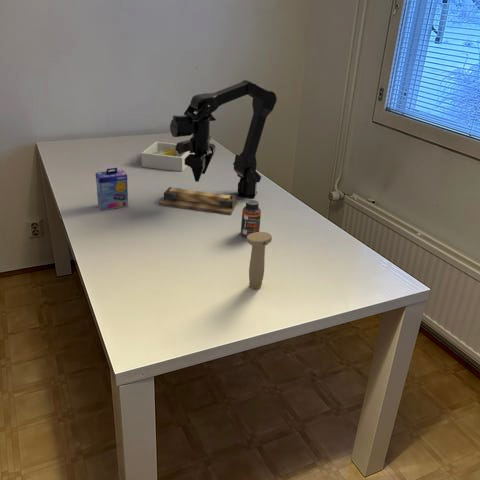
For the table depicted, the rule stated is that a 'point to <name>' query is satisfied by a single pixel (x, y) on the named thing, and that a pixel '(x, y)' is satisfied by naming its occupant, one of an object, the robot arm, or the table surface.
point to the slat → (199, 196)
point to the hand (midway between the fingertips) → (200, 177)
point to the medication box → (166, 152)
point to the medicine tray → (163, 157)
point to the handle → (257, 257)
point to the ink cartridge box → (112, 189)
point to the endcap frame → (224, 206)
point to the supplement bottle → (250, 218)
